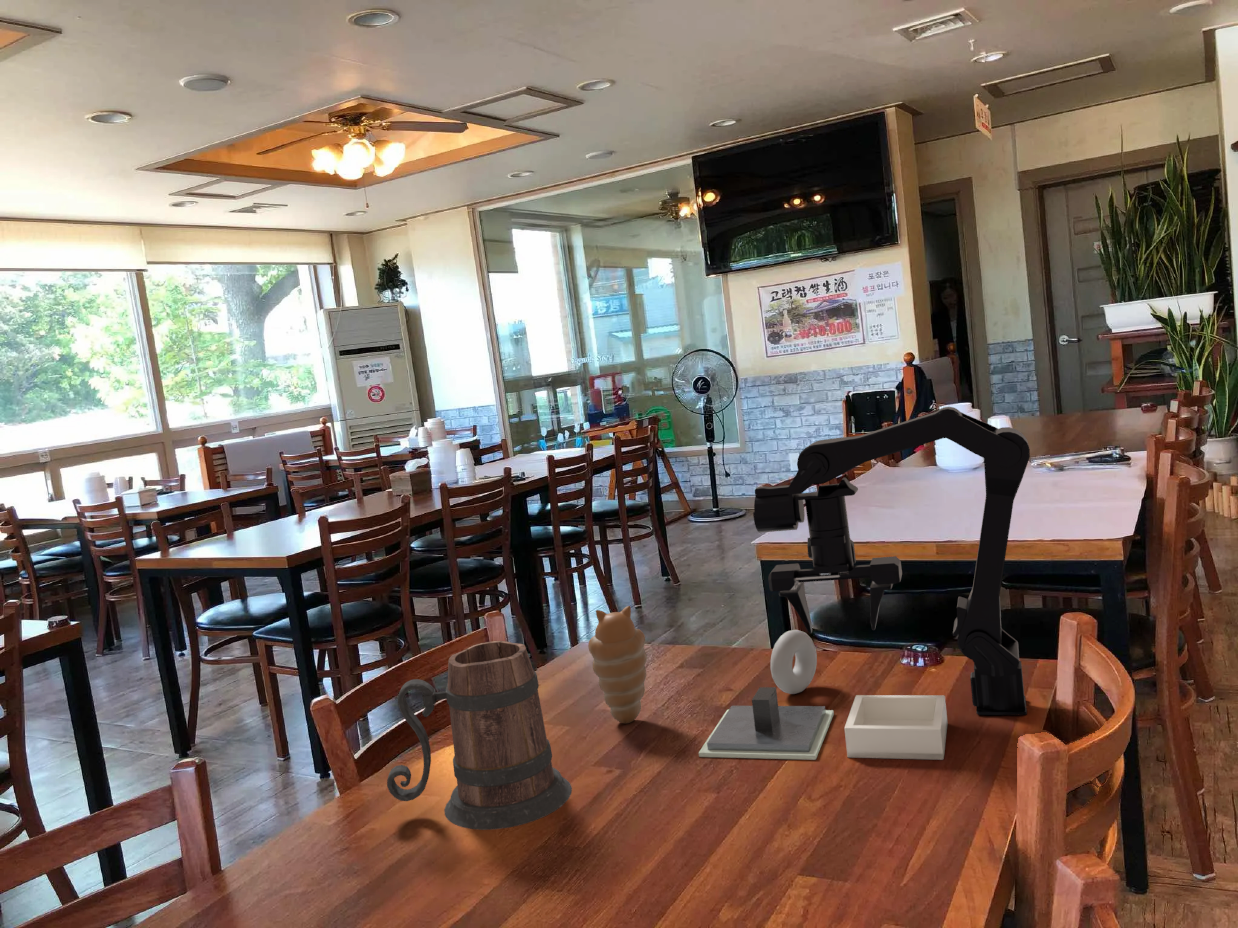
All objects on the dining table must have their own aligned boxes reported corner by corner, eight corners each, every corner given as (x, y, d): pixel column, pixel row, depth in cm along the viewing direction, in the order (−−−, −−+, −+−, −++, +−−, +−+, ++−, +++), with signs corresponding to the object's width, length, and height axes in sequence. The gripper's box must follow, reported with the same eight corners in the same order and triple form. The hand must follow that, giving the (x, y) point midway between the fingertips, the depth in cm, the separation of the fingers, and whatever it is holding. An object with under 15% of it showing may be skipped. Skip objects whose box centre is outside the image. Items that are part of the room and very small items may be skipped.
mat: (833, 714, 145) (833, 710, 145) (815, 759, 130) (815, 755, 130) (727, 713, 151) (727, 709, 151) (699, 756, 136) (698, 752, 136)
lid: (825, 712, 144) (821, 676, 144) (809, 752, 131) (804, 712, 131) (732, 711, 149) (728, 676, 149) (707, 749, 136) (703, 711, 136)
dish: (947, 723, 136) (944, 695, 136) (943, 759, 125) (940, 729, 125) (858, 722, 141) (856, 695, 140) (847, 757, 129) (844, 727, 129)
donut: (787, 704, 151) (780, 641, 150) (769, 701, 153) (762, 638, 152) (824, 683, 158) (817, 623, 157) (806, 680, 160) (799, 621, 159)
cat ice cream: (653, 709, 156) (639, 598, 154) (657, 727, 148) (642, 611, 147) (598, 716, 156) (583, 606, 154) (598, 735, 148) (583, 618, 147)
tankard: (568, 763, 140) (549, 625, 137) (576, 815, 123) (554, 660, 121) (400, 791, 137) (378, 651, 135) (385, 848, 121) (360, 690, 118)
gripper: (897, 511, 149) (910, 612, 150) (775, 522, 155) (788, 618, 156) (892, 525, 138) (906, 633, 140) (761, 536, 145) (775, 640, 146)
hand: (841, 630), depth 146 cm, fingers open, 9 cm apart
